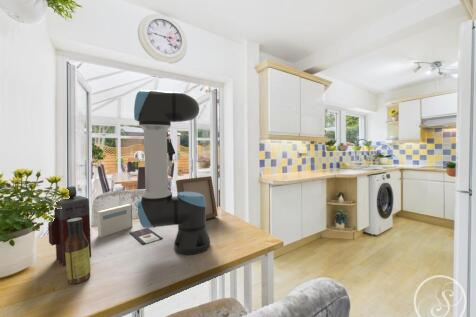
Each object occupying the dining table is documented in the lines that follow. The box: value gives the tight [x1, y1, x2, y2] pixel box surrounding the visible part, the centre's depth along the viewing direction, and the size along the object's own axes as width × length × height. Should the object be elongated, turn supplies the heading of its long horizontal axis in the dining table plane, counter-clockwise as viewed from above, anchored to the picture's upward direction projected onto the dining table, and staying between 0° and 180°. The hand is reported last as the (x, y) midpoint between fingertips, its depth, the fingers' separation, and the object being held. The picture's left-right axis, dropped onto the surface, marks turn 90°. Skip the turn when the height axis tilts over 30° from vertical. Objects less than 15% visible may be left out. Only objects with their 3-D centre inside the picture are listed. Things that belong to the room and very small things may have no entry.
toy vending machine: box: [47, 185, 92, 267], centre depth 84 cm, size 9×11×28 cm
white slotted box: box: [96, 203, 133, 238], centre depth 112 cm, size 16×3×12 cm, turn 150°
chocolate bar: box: [129, 227, 163, 246], centre depth 106 cm, size 9×1×18 cm
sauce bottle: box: [65, 218, 92, 285], centre depth 71 cm, size 7×6×20 cm
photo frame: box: [175, 175, 218, 220], centre depth 130 cm, size 15×22×25 cm
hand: (162, 165), depth 133 cm, fingers open, 13 cm apart
